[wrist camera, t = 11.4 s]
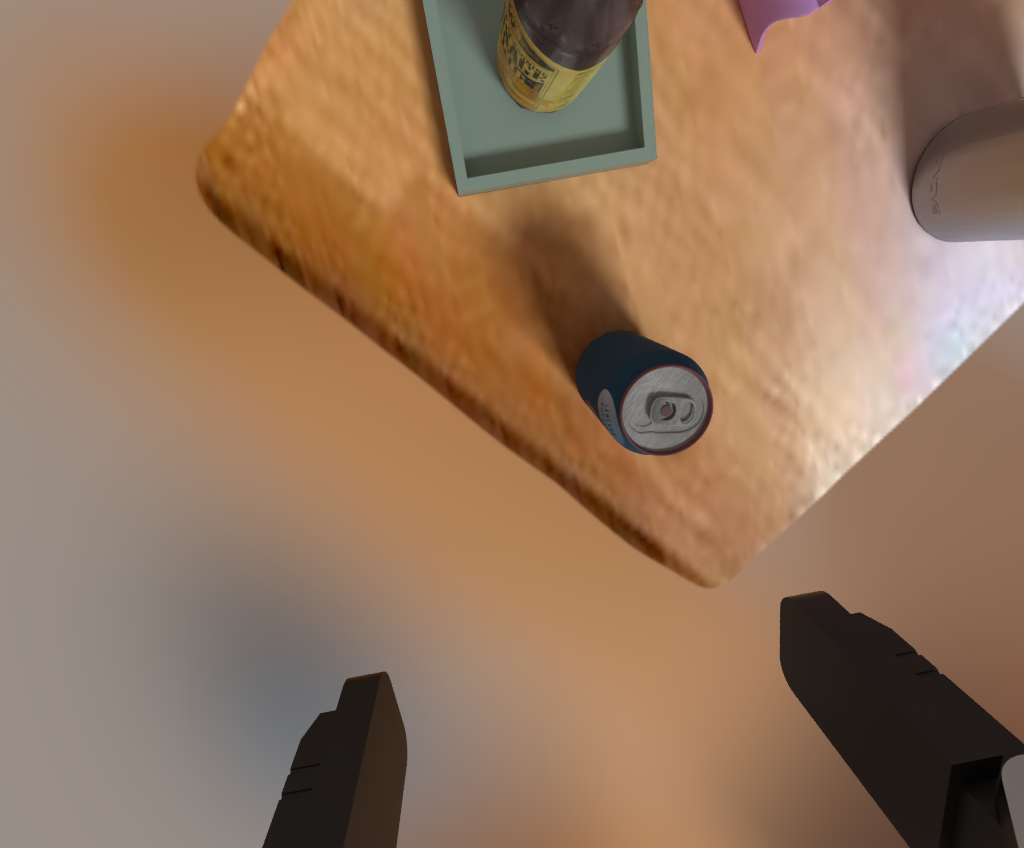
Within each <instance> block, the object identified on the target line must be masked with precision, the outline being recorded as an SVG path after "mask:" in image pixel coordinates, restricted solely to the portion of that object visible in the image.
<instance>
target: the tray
mask: <svg viewBox="0 0 1024 848" xmlns="http://www.w3.org/2000/svg"><path fill="white" fill-rule="evenodd" d="M504 3H505V0H423V6H424V11H425V17H426V22H427V27H428V33H429V38H430V44H431V49H432V54H433V60H434V65H435V71H436V76H437V81H438V87H439V92H440V98H441V103H442V108H443V114H444V119H445V125H446V130H447V135H448V141H449V146H450V152H451V157H452V162H453V168H454V173H455V179H456V184H457V189H458V195H459V197H461V196H467V195H473V194H478V193H484V192H490V191H496V190H501V189H507V188H513V187H518V186H524V185H530V184H535V183H541V182H547V181H553V180H558V179H564V178H570V177H575V176H581V175H587V174H592V173H598V172H604V171H610V170H615V169H621V168H627V167H632V166H638V165H644V164H647V163H649V162H651V161H653V160H655V159H656V158H657V152H656V137H655V123H654V109H653V94H652V80H651V66H650V51H649V37H648V23H647V8H646V0H643V4H642V6H641V8H640V9H639V11H638V13H637V16H636V18H635V19H634V21H633V23H632V24H631V26H630V27H629V29H628V30H627V32H626V33H625V34H624V35H623V37H622V39H621V41H620V42H619V44H618V46H617V47H616V48H615V50H614V51H613V52H612V53H611V55H610V56H609V57H608V59H607V60H606V61H605V62H604V64H603V65H602V66H601V68H600V69H599V70H598V72H597V73H596V74H595V75H594V77H593V78H592V79H591V80H590V81H589V83H588V84H587V85H586V86H585V88H584V89H583V90H582V91H581V93H580V94H579V95H578V96H577V98H576V99H575V100H574V101H573V102H572V103H570V104H569V105H567V106H566V107H564V108H562V109H559V110H558V111H556V112H553V113H535V112H532V111H529V110H527V109H522V108H520V107H519V106H518V105H517V104H516V103H515V101H514V100H513V99H512V98H511V97H510V95H509V94H508V92H507V90H506V89H505V87H504V85H503V83H502V81H501V79H500V75H499V69H498V63H497V45H498V39H499V33H500V27H501V20H502V14H503V10H504Z"/></svg>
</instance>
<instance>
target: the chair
mask: <svg viewBox="0 0 1024 848" xmlns="http://www.w3.org/2000/svg"><path fill="white" fill-rule="evenodd" d="M831 1H832V0H739V3H740V6H741V10H742V13H743V16H744V19H745V23H746V26H747V29H748V32H749V35H750V39H751V42H752V45H753V48H754V51H755V53H757V52H759V51H760V49H761V46H762V42H763V39H764V36H765V34H766V32H767V30H768V28H769V27H770V26H771V25H772V24H773V23H774V22H776V21H780V20H783V19H790V18H797V17H802V16H806V15H809V14H811V13H813V12H814V11H816V10H817V9H819V8H821V7H822V6H824V5H826V4H827V3H829V2H831Z"/></svg>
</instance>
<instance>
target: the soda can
mask: <svg viewBox="0 0 1024 848" xmlns="http://www.w3.org/2000/svg"><path fill="white" fill-rule="evenodd" d="M576 383H577V388H578V391H579V394H580V396H581V397H582V399H583V400H584V402H585V403H586V404H587V405H588V407H589V408H590V409H591V410H592V412H593V413H594V414H595V415H596V417H597V418H598V419H599V420H600V421H601V423H602V424H603V425H604V426H605V428H606V429H607V430H608V431H609V433H610V434H611V435H612V436H613V437H614V439H615V440H616V441H617V442H618V443H619V444H621V445H622V446H623V447H625V448H626V449H628V450H630V451H632V452H635V453H639V454H644V455H655V456H667V455H673V454H676V453H679V452H682V451H684V450H686V449H687V448H689V447H691V446H692V445H693V444H694V443H696V442H697V441H698V440H699V439H700V438H701V436H702V435H703V434H704V432H705V431H706V429H707V427H708V425H709V423H710V421H711V417H712V413H713V397H712V393H711V390H710V388H709V384H708V381H707V378H706V376H705V374H704V372H703V371H702V369H701V368H700V367H699V365H698V364H697V363H696V362H695V361H693V360H692V359H691V358H689V357H688V356H686V355H684V354H682V353H679V352H677V351H675V350H673V349H670V348H668V347H666V346H664V345H661V344H659V343H657V342H654V341H652V340H650V339H648V338H645V337H643V336H641V335H639V334H636V333H633V332H628V331H616V332H611V333H608V334H605V335H603V336H601V337H599V338H597V339H596V340H595V341H593V342H592V343H591V344H590V345H589V346H588V347H587V348H586V349H585V351H584V352H583V354H582V356H581V358H580V360H579V362H578V366H577V370H576Z"/></svg>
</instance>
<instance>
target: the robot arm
mask: <svg viewBox="0 0 1024 848" xmlns="http://www.w3.org/2000/svg"><path fill="white" fill-rule="evenodd" d="M912 203H913V208H914V212H915V215H916V217H917V219H918V221H919V223H920V225H921V226H922V227H923V228H924V230H925V231H926V232H927V233H928V234H930V235H932V236H933V237H935V238H936V239H939V240H943V241H946V242H974V241H997V240H1024V97H1023V98H1020V99H1016V100H1013V101H1010V102H1006V103H1003V104H1000V105H996V106H993V107H990V108H986V109H983V110H980V111H976V112H973V113H970V114H968V115H965V116H963V117H960V118H958V119H957V120H955V121H954V122H952V123H950V124H949V125H947V126H946V127H945V128H944V129H943V130H942V131H941V132H940V133H939V134H938V135H936V136H935V138H934V139H933V140H932V142H931V143H930V144H929V146H928V147H927V148H926V150H925V152H924V154H923V156H922V157H921V159H920V161H919V164H918V166H917V169H916V172H915V175H914V181H913V187H912ZM780 662H781V667H782V670H783V673H784V676H785V678H786V681H787V683H788V685H789V687H790V688H791V690H792V691H793V693H794V694H795V695H796V697H797V698H798V699H799V701H800V702H801V704H802V705H803V706H804V708H805V709H806V710H807V711H808V713H809V714H810V715H811V717H812V718H813V719H814V721H815V722H816V723H817V725H818V726H819V727H820V729H821V730H822V731H823V733H824V734H825V735H826V737H827V738H828V739H829V741H830V742H831V743H832V745H833V746H834V747H835V749H836V750H837V751H838V753H839V754H840V755H841V757H842V758H843V759H844V761H845V762H846V763H847V765H848V766H849V767H850V768H851V770H852V771H853V773H854V774H855V775H856V777H857V778H858V779H859V781H860V782H861V783H862V785H863V786H864V787H865V789H866V790H867V791H868V793H869V794H870V795H871V797H872V798H873V799H874V800H875V802H876V803H877V805H878V806H879V807H880V809H881V810H882V811H883V813H884V814H885V815H886V817H887V818H888V819H889V820H890V822H891V823H892V825H893V826H894V827H895V828H896V830H897V831H898V833H899V834H900V835H901V837H902V838H903V839H904V840H905V842H906V843H907V845H908V846H909V847H910V848H1024V744H1023V743H1022V742H1021V741H1020V740H1019V739H1018V738H1016V737H1015V736H1014V735H1013V734H1012V733H1011V732H1009V731H1008V730H1007V729H1006V728H1005V727H1004V726H1002V725H1001V724H1000V723H999V722H998V721H997V720H995V719H994V718H993V717H992V716H991V715H990V714H989V713H988V712H986V711H985V710H984V709H983V708H982V707H981V706H980V705H978V704H977V703H976V702H975V701H974V700H973V699H972V698H970V697H969V696H968V695H967V694H966V693H965V692H963V691H962V690H961V689H960V688H959V687H958V686H956V685H955V684H954V683H953V682H952V681H951V680H950V679H948V678H947V677H946V676H945V675H944V674H940V673H939V672H938V669H937V668H936V667H934V665H932V664H931V663H930V662H929V661H928V660H926V659H925V658H924V657H923V656H922V655H918V654H917V652H916V650H915V649H914V648H913V647H912V646H911V645H909V644H908V643H907V642H906V641H905V640H904V639H902V638H901V637H900V636H899V635H898V634H897V633H895V632H894V631H893V630H892V629H891V628H888V627H887V626H885V625H883V624H881V623H879V622H877V621H875V620H873V619H872V618H870V617H868V616H866V615H864V614H862V613H855V614H850V613H849V612H848V611H847V610H846V609H845V608H844V607H842V606H841V605H840V604H839V603H838V602H837V601H836V600H835V599H834V598H832V596H830V595H829V594H828V593H826V592H824V591H817V592H812V593H807V594H801V595H796V596H791V597H786V598H784V599H782V601H781V606H780ZM406 766H407V740H406V732H405V728H404V724H403V721H402V718H401V714H400V711H399V708H398V704H397V701H396V697H395V694H394V691H393V687H392V684H391V681H390V678H389V675H388V674H387V673H386V672H379V673H374V674H369V675H363V676H358V677H353V678H348V679H347V680H346V681H345V683H344V685H343V689H342V692H341V695H340V698H339V702H338V705H337V708H336V710H335V711H330V712H325V713H320V714H319V716H318V717H317V719H316V720H315V721H314V723H313V724H312V725H311V727H310V728H309V729H308V731H307V732H306V733H305V735H304V736H303V737H302V739H301V741H300V743H299V746H298V749H297V752H296V755H295V757H294V760H293V763H292V766H291V773H290V775H288V777H287V780H286V783H285V785H284V788H283V791H282V799H281V800H279V802H278V805H277V808H276V811H275V813H274V816H273V819H272V822H271V825H270V827H269V830H268V833H267V836H266V839H265V842H264V845H263V847H262V848H396V845H397V837H398V830H399V822H400V813H401V806H402V798H403V790H404V783H405V775H406Z"/></svg>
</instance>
